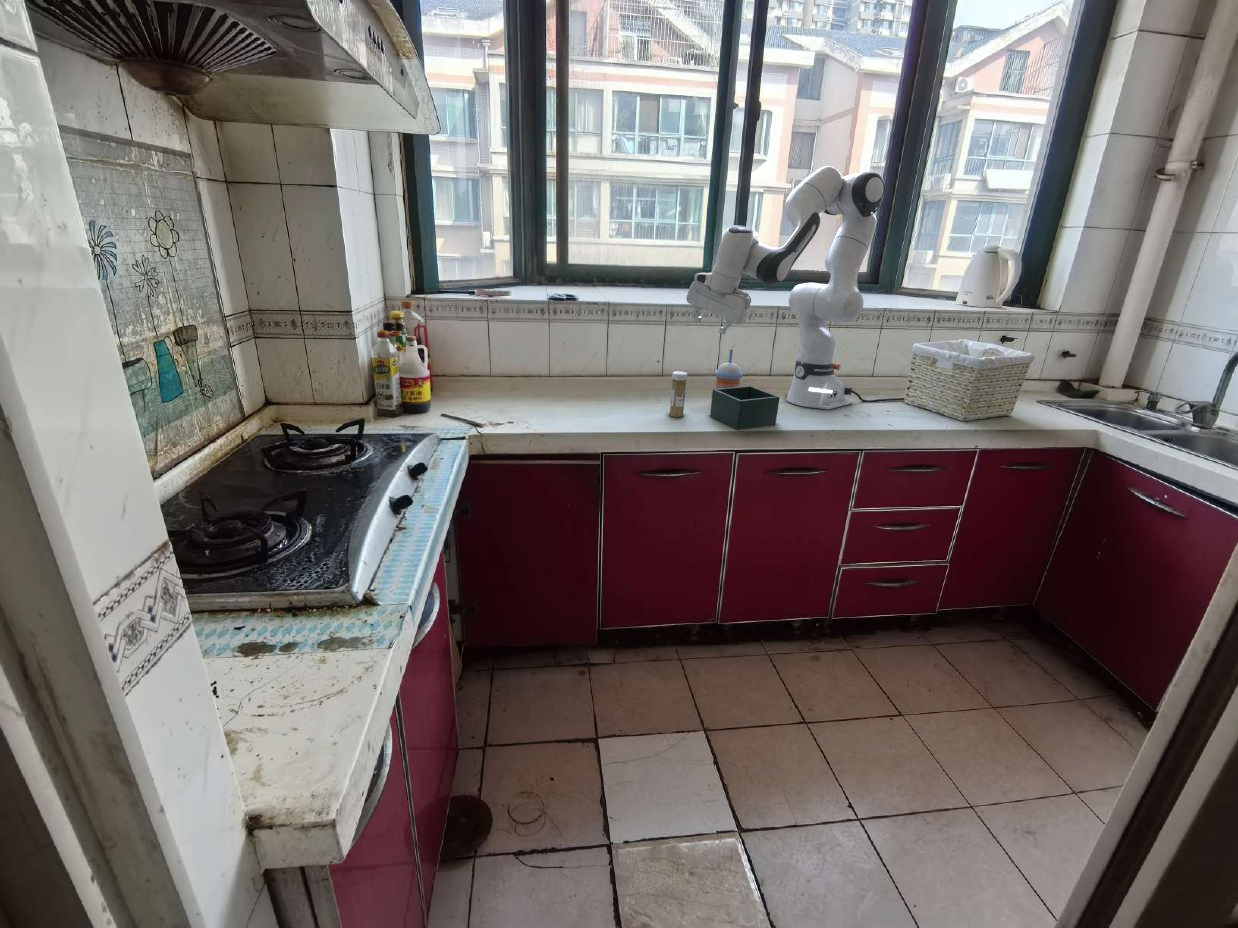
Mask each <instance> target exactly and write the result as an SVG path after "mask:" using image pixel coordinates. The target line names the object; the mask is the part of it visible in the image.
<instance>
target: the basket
mask: <svg viewBox="0 0 1238 928" xmlns="http://www.w3.org/2000/svg"><path fill="white" fill-rule="evenodd" d="M986 354H988V355H989V356H985V355H986ZM992 355H996V356H992ZM1034 360H1035V354H1034V353H1032V352H1029V351H1027V352H1025V351H1023V350H1017V349H1014V348H1009V347H1005V346H1001V345H998V344H995V343H989V342H982V341H981V342H980V341H975V340H968V339H967V338H964V339H962V338H961V339H958V340H953V339H952V340H941V341H939V340H938V341H928V342H915V343H914V344H913V345H912V349H911V358H910V364H909V369H908V376H907V382H906V385H905V391H904V397H903V398H904V400H903V401H904V403H906V404H907V405H911V406H915V407H919V408H921V409H926V410H929V411H932V412H933V413H939V414H942V415H944V416H946V417H949V418H952V419H956V420H958V421H960V422H967V421H974V420H977V419H979V420H985V419H987V418H996V417H1004V416H1012V415H1013V412H1014V411H1015V406H1016V404H1017V401H1018V399H1019V396H1020V393H1021V390H1022V388H1023V385H1024V382H1025V379H1026V377H1027V374H1028V373H1029V369H1030V366H1031V364H1032V363H1033V362H1034Z"/></svg>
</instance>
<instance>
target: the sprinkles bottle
mask: <svg viewBox="0 0 1238 928" xmlns="http://www.w3.org/2000/svg"><path fill="white" fill-rule="evenodd" d="M687 380H688V373H687V372H685V371H681V370H680V371H679V370H678V371H677V370H676V371H673V372H672V373H671V389H670V400H669V401H670V402H669V413H668V415H669V416H671V417H673V418H682V417H684V414H685V413H684V412H685V411H684V409H685V403H686V402H685V401H686V389H687V388H686V387H687Z"/></svg>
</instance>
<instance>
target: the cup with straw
mask: <svg viewBox="0 0 1238 928" xmlns="http://www.w3.org/2000/svg"><path fill="white" fill-rule="evenodd" d="M733 352H734V351H733V349H729V354H728V362H724V363H721V364H720V365H719V366H718V368H717V369H716V370H715V371H714V376H715V377H716V379H715V389H722V388H732V387H740V385H741V382H740V381H741V379H742V378H743V375H744V374H743V372H742V371H741V368H740V366H739V365H738V364H736V363H735V362H732V361H733V354H734V353H733Z"/></svg>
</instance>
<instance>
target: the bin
mask: <svg viewBox="0 0 1238 928" xmlns="http://www.w3.org/2000/svg"><path fill="white" fill-rule="evenodd" d="M780 397H781V396H779V395H776V394H773V393H770V392H768V391H766V390H763V389H761V388H758V387H755V386H753V385H742V386H739V387H732V388H722V389H716V388H713V389H712V393H711V403H710V412H709V413H710V414H709V416H710V417H711V418H713V419H715V420H717V421H719V422H720V423H723V424H725V425H727V426H729V427H730V428H733V429H735V430H744V429H752V428H759V427H766V426H774V425H776V424H777V417H778V411H779V405H780Z"/></svg>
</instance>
